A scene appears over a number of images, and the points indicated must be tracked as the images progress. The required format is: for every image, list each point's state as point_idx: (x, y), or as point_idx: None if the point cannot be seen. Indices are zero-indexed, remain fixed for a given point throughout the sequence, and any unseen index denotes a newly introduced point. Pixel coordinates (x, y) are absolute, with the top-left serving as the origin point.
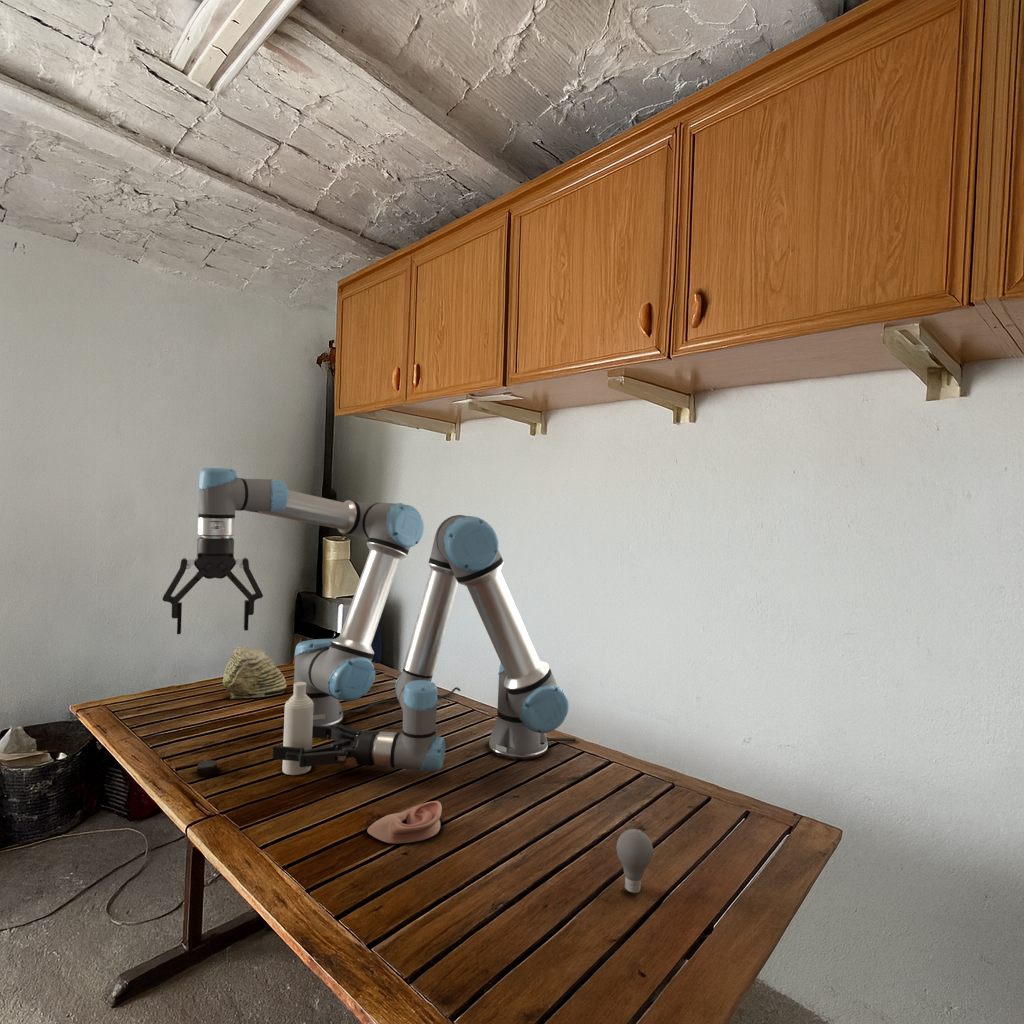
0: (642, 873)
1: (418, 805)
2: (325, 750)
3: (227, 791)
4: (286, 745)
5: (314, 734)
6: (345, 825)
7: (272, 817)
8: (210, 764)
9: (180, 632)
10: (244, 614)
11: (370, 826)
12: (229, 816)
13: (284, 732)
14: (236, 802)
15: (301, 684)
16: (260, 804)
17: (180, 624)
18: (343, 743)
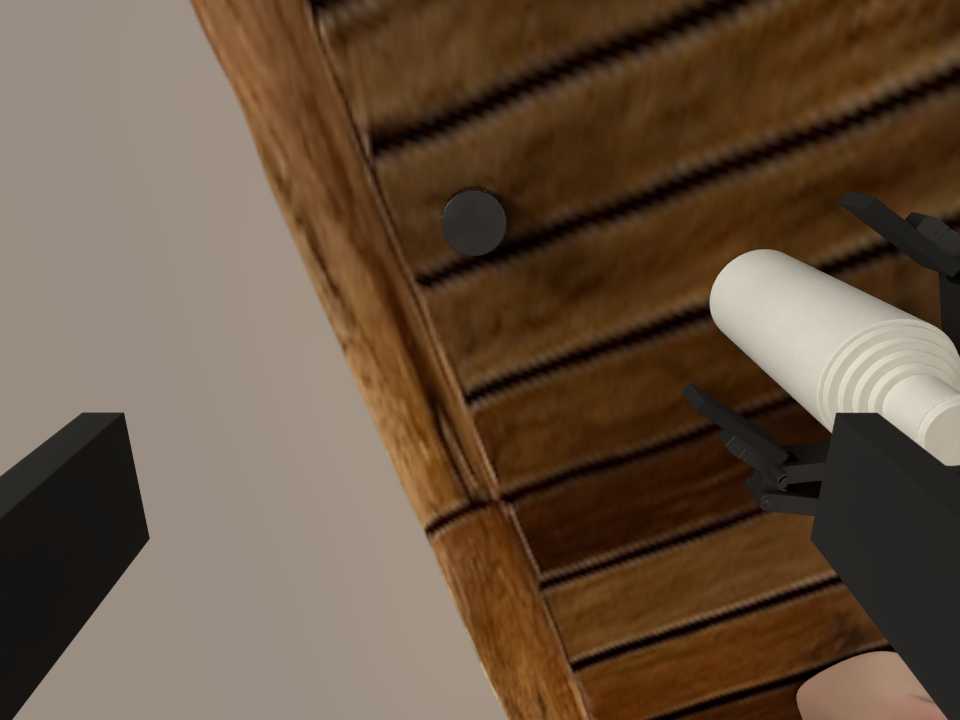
0: None
1: (944, 717)
2: None
3: (528, 381)
4: (750, 353)
5: (893, 240)
6: (765, 646)
7: (619, 560)
8: (484, 233)
9: (137, 547)
10: (940, 587)
11: (810, 691)
12: (521, 522)
13: (764, 352)
14: (545, 456)
15: (958, 458)
16: (603, 488)
17: (84, 615)
18: None
